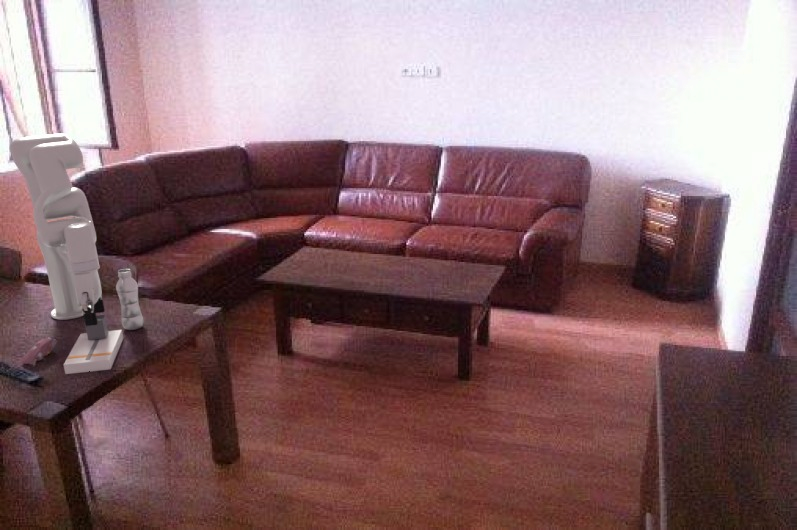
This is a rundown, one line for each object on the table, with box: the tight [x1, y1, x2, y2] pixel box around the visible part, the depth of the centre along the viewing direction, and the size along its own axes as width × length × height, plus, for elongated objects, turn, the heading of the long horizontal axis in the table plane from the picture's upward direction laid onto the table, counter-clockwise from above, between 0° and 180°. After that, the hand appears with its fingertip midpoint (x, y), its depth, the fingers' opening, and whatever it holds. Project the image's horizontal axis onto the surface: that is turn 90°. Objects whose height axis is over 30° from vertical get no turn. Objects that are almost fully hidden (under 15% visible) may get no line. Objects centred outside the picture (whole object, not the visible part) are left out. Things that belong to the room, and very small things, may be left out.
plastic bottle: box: [115, 268, 144, 331], centre depth 205 cm, size 6×7×20 cm
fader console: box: [63, 329, 124, 375], centre depth 191 cm, size 20×12×3 cm, turn 12°
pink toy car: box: [21, 336, 58, 365], centre depth 190 cm, size 10×5×7 cm, turn 169°
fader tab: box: [84, 314, 109, 340], centre depth 195 cm, size 4×5×6 cm
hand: (95, 318), depth 193 cm, fingers open, 9 cm apart
